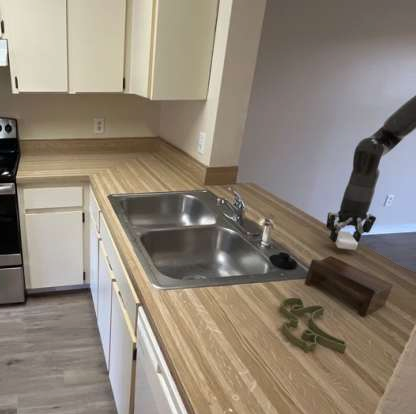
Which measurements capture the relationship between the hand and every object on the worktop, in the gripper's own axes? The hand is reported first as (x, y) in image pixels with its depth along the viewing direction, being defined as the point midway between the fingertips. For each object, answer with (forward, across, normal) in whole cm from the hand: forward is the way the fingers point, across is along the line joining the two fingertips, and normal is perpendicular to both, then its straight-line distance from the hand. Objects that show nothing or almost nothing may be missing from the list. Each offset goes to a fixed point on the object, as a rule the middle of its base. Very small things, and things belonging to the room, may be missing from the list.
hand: (343, 241), depth 115 cm
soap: (+1, 0, 0) cm, 1 cm away
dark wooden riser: (+3, -12, -26) cm, 29 cm away
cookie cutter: (+3, -28, -42) cm, 50 cm away
